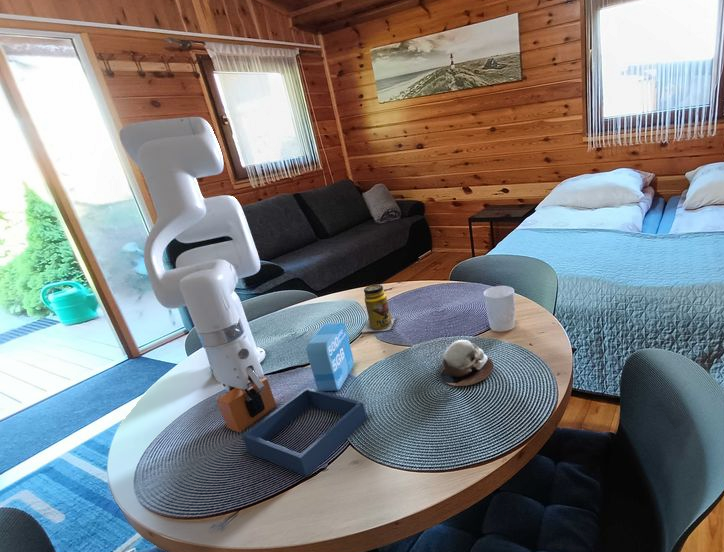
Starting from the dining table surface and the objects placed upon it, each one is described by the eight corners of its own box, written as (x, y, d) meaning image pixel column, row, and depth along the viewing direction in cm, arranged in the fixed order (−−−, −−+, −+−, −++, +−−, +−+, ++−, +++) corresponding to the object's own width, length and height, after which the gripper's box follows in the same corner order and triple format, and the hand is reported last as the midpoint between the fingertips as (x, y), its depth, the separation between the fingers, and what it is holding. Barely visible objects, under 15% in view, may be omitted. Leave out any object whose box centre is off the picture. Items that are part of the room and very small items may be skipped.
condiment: (390, 330, 121) (382, 290, 116) (360, 333, 121) (351, 293, 117) (395, 318, 127) (387, 281, 123) (367, 321, 128) (358, 284, 124)
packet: (227, 428, 88) (215, 399, 85) (264, 402, 95) (255, 375, 93) (239, 432, 86) (228, 403, 83) (276, 405, 93) (267, 378, 91)
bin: (248, 452, 80) (241, 435, 79) (311, 402, 93) (306, 387, 91) (306, 476, 73) (300, 458, 71) (367, 418, 85) (362, 402, 84)
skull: (472, 345, 105) (485, 326, 96) (492, 383, 101) (507, 367, 93) (428, 361, 99) (438, 343, 91) (447, 403, 95) (459, 388, 87)
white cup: (504, 316, 120) (501, 283, 116) (523, 325, 114) (520, 290, 110) (481, 326, 116) (477, 292, 112) (500, 336, 110) (496, 300, 106)
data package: (338, 393, 95) (325, 345, 90) (318, 394, 95) (304, 347, 91) (354, 363, 106) (344, 319, 101) (337, 364, 106) (325, 321, 102)
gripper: (266, 329, 82) (292, 408, 89) (214, 320, 90) (241, 392, 97) (230, 348, 76) (261, 431, 83) (178, 336, 84) (210, 413, 91)
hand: (250, 410), depth 90 cm, fingers closed on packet, 4 cm apart
